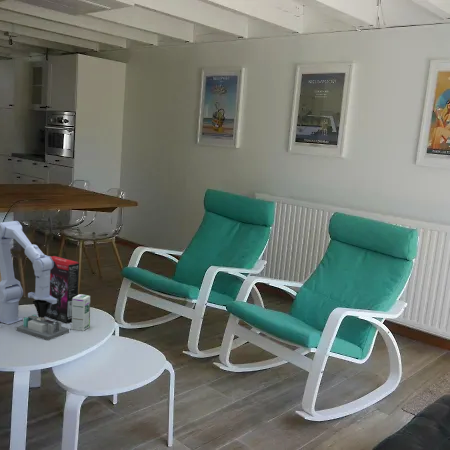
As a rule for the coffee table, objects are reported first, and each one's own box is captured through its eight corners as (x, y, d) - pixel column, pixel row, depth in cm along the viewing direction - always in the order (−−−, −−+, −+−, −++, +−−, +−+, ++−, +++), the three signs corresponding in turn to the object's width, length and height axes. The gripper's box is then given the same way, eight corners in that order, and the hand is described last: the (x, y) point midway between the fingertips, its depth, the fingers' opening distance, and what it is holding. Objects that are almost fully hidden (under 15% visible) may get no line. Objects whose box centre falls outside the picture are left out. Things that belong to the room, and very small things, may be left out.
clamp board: (16, 330, 221) (16, 318, 220) (38, 322, 231) (38, 311, 231) (48, 340, 213) (48, 327, 212) (69, 332, 223) (69, 320, 223)
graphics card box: (40, 315, 241) (42, 257, 237) (52, 311, 247) (54, 255, 243) (66, 324, 233) (68, 264, 229) (78, 320, 239) (80, 261, 235)
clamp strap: (27, 321, 223) (27, 316, 223) (32, 319, 225) (32, 314, 225) (53, 328, 217) (53, 323, 216) (58, 327, 219) (58, 321, 219)
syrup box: (83, 331, 226) (85, 298, 224) (71, 329, 227) (72, 297, 225) (89, 327, 231) (91, 295, 229) (77, 325, 232) (78, 293, 230)
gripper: (22, 284, 218) (21, 315, 220) (48, 291, 212) (47, 323, 214) (35, 281, 225) (34, 311, 227) (61, 287, 218) (60, 318, 220)
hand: (41, 316), depth 221 cm, fingers closed
